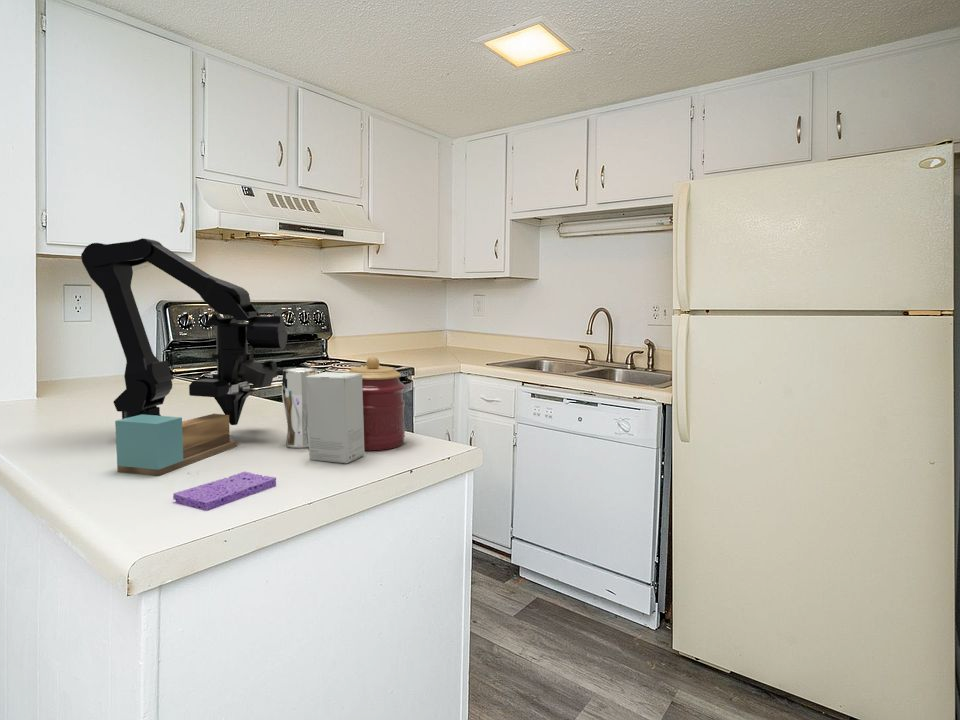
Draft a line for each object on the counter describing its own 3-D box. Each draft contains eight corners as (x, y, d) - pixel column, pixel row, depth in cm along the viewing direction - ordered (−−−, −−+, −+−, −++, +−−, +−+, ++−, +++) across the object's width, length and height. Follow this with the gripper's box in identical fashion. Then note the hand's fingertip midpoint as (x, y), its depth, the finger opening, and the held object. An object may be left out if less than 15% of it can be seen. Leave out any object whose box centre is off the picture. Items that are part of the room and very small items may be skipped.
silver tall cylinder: (310, 449, 111) (309, 372, 109) (276, 447, 112) (274, 371, 110) (325, 441, 118) (324, 368, 116) (293, 439, 119) (292, 367, 117)
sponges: (276, 489, 89) (276, 477, 89) (206, 514, 78) (205, 501, 78) (244, 481, 93) (244, 470, 92) (172, 505, 81) (172, 492, 81)
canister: (334, 438, 120) (334, 354, 118) (395, 434, 125) (396, 353, 123) (346, 454, 108) (345, 361, 106) (412, 448, 113) (413, 359, 112)
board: (117, 471, 95) (116, 456, 94) (201, 443, 114) (201, 430, 114) (158, 475, 93) (158, 460, 93) (237, 446, 112) (236, 433, 112)
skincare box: (365, 456, 107) (365, 373, 106) (345, 465, 101) (345, 377, 100) (326, 451, 110) (326, 370, 108) (305, 460, 104) (304, 374, 102)
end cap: (117, 465, 95) (115, 420, 94) (143, 457, 100) (142, 414, 99) (158, 469, 93) (156, 424, 92) (183, 460, 98) (181, 417, 97)
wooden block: (156, 456, 101) (155, 428, 100) (214, 438, 114) (213, 413, 113) (172, 458, 100) (171, 429, 99) (229, 440, 113) (229, 414, 112)
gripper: (238, 354, 105) (240, 438, 107) (293, 346, 123) (294, 418, 125) (185, 351, 107) (188, 433, 109) (246, 344, 126) (248, 415, 127)
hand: (233, 424), depth 117 cm, fingers closed
